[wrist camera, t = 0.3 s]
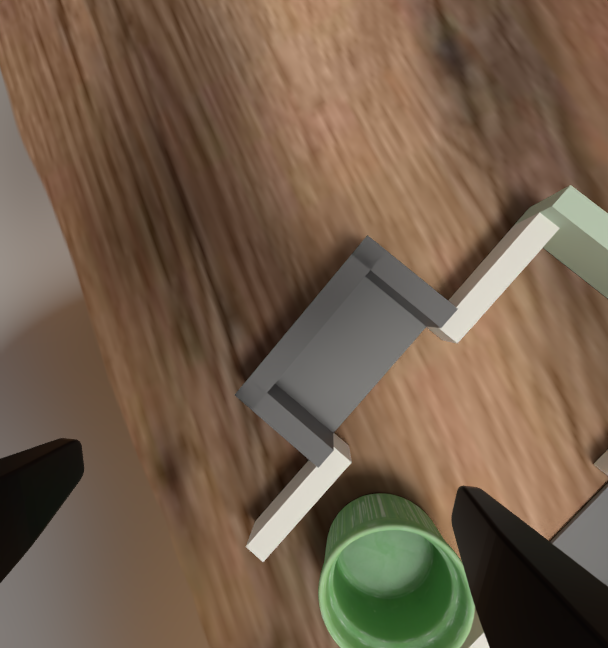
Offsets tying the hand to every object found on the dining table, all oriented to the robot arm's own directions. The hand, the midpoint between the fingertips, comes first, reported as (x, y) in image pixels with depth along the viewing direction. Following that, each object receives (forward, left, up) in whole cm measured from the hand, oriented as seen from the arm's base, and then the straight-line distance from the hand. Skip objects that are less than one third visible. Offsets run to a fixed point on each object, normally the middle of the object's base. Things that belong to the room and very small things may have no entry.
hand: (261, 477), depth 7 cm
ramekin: (-6, -12, -15) cm, 21 cm away
